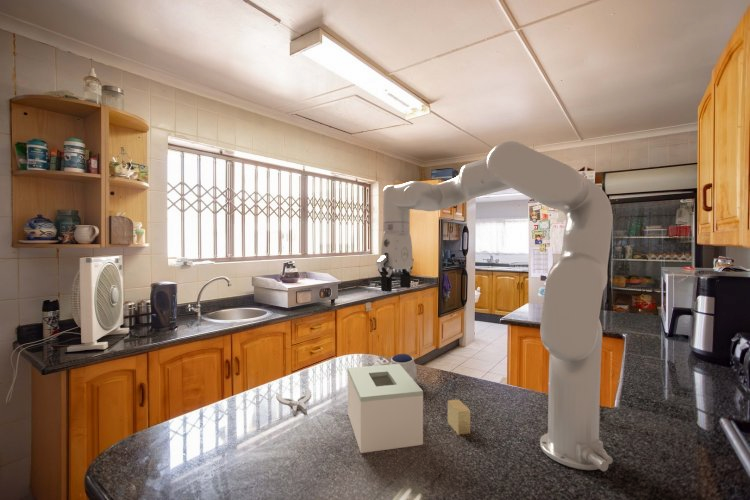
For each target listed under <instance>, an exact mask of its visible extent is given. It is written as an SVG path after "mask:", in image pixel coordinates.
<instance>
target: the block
mask: <svg viewBox="0 0 750 500" xmlns="http://www.w3.org/2000/svg"><path fill="white" fill-rule="evenodd" d="M447 423H448V425H449V426H450V427H451V428H452V429H453V430H454V432H455V431H456V432H455V433H456V434H457V435H458V436H461V435H460V434H462V435H469V434H471V410H470V408H469V407H468V406H467V405H465V403H463V402H462V401H461V399H459V398H458V399H451V400H450V399H449V400H447ZM468 433H469V434H468Z"/></svg>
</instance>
